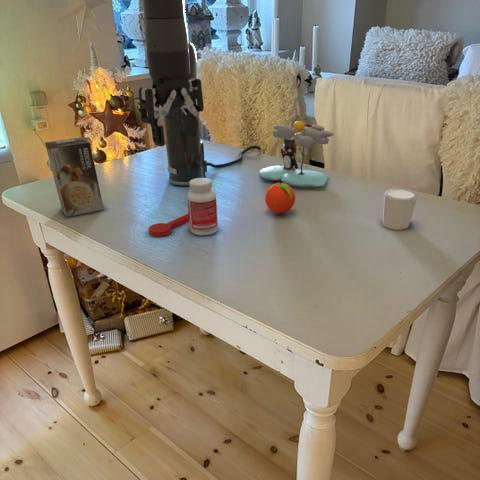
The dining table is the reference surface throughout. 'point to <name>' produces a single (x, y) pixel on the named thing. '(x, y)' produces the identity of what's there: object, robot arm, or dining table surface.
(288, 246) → the dining table surface
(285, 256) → the dining table surface
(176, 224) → the spoon
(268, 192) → the clementine
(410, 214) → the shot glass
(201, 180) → the pill bottle
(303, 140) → the penguin figurine
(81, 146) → the coffee box
